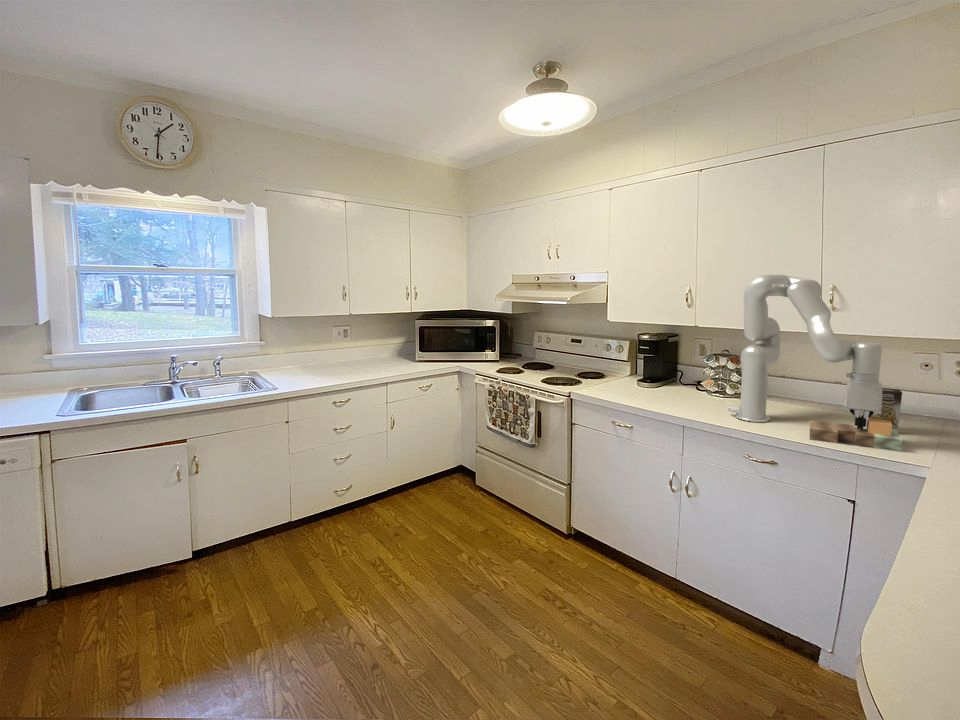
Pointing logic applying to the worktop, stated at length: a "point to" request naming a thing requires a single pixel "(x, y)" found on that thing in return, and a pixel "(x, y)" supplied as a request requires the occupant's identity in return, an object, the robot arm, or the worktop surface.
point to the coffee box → (889, 407)
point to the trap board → (853, 436)
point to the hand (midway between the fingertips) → (859, 427)
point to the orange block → (879, 427)
